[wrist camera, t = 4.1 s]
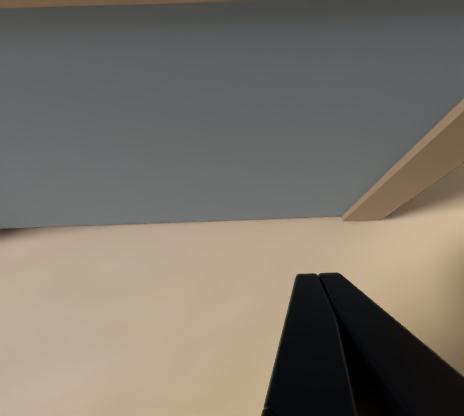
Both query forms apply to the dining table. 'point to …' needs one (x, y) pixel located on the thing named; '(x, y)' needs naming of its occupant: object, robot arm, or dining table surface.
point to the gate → (225, 108)
